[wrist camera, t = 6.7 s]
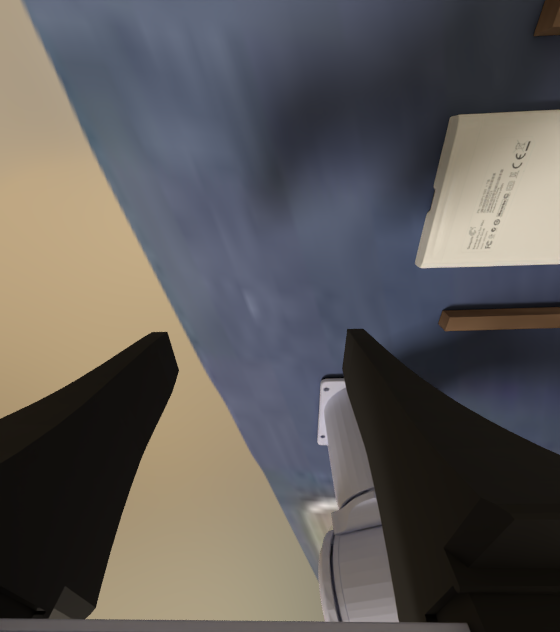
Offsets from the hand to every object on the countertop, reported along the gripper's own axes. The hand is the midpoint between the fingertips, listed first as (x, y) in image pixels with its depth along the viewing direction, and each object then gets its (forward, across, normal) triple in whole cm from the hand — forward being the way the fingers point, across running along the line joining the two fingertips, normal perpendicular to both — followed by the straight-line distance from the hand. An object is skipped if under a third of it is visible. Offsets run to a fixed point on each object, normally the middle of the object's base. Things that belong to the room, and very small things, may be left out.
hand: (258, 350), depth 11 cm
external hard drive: (+10, -16, -4) cm, 19 cm away
